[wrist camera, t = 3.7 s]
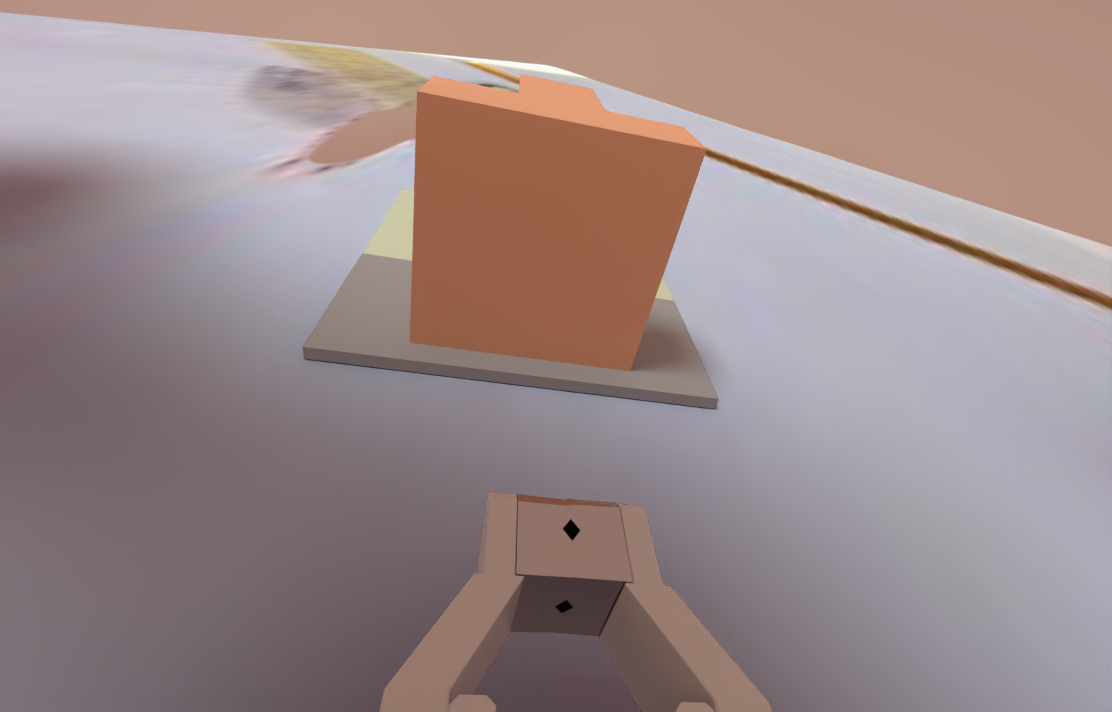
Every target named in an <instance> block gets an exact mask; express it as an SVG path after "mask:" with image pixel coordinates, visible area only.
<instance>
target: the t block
mask: <svg viewBox="0 0 1112 712" xmlns="http://www.w3.org/2000/svg"><path fill="white" fill-rule="evenodd" d="M416 114H417V115H416V146H415V180H414V214H413V247H412V281H411V315H410V343H417V344H425V345H432V346H440V347H448V348H455V349H463V350H471V351H478V352H486V353H494V354H501V355H509V356H517V357H524V358H532V359H540V360H547V361H555V362H563V363H570V364H578V365H586V366H593V367H601V368H609V369H616V370H624V371H630V370H631V367H632V364H633V361H634V358H635V355H636V352H637V349H638V347H639V344H640V341H641V338H642V335H643V332H644V329H645V326H646V323H647V320H648V318H649V315H650V312H651V309H652V306H653V303H654V300H655V297H656V294H657V292H658V289H659V286H660V283H661V280H662V277H663V274H664V271H665V268H666V265H667V263H668V260H669V257H670V254H671V251H672V248H673V245H674V242H675V239H676V236H677V234H678V231H679V228H680V225H681V222H682V219H683V216H684V213H685V210H686V207H687V205H688V202H689V199H690V196H691V193H692V190H693V187H694V184H695V181H696V179H697V176H698V173H699V170H700V167H701V164H702V161H703V158H704V155H705V152H706V150H707V149H706V148H705V147H704V146H703V145H702V144H701V143H700V142H699V141H698V140H697V139H695V138H694V137H693V136H692V135H691V134H690V133H689V132H688V131H687V130H686V129H685V128H683V127H681V126H676V125H671V124H666V123H661V122H656V121H651V120H646V119H642V118H637V117H632V116H627V115H622V114H617V113H612V112H607V111H605V109H604V108H603V106H602V104H601V103H600V101H599V99H598V98H597V96H596V94H595V93H594V91H593V89H590V88H585V87H580V86H575V85H570V84H566V83H561V82H556V81H551V80H547V79H542V78H537V77H532V76H528V75H523V74H521V77H520V85H519V92H518V93H514V92H509V91H504V90H500V89H495V88H490V87H485V86H480V85H475V84H470V83H465V82H460V81H455V80H451V79H446V78H441V77H436V76H433V77H432V78H431V79H430V80H429V81H428V82H427V83H426V84H424V85H423V86H422V87H421V88H420V89H419V90H418V91H417V112H416Z"/></svg>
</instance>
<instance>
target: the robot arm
mask: <svg viewBox="0 0 1112 712" xmlns="http://www.w3.org/2000/svg"><path fill="white" fill-rule="evenodd" d="M510 632H550V633H565V634H577V635H590V636H600V637H599V640H600V642H601V643H602V645H603V647H604V649H605V650H606V652H607V654H608V655H609V657H610V659H611V660H612V662H613V664H614V666H615V667H616V669H617V671H618V672H619V674H620V676H621V678H622V679H623V681H624V683H625V684H626V686H627V688H628V690H629V691H630V693H631V695H632V696H633V698H634V700H635V702H636V703H637V705H638V707H639V708H640V710H641V712H772V709H771V706H770V703H769V702H768V701H767V699H766V698H765V697H764V696H763V695H762V694H761V692H760V691H759V690H758V689H757V688H756V686H755V685H754V684H753V683H752V682H751V681H750V679H749V678H748V677H747V676H746V675H745V673H744V672H743V671H742V670H741V669H740V668H739V666H738V665H737V664H736V663H735V662H734V660H733V659H732V658H731V657H730V656H729V655H728V653H727V652H726V651H725V650H724V649H723V647H722V646H721V645H720V644H719V643H718V642H717V640H716V639H715V638H714V637H713V636H712V634H711V633H710V632H709V631H708V630H707V629H706V627H705V626H704V625H703V624H702V623H701V621H700V620H699V619H698V618H697V617H696V616H695V614H694V613H693V612H692V611H691V610H690V608H689V607H688V606H687V605H686V604H685V603H684V601H683V600H682V599H681V598H680V597H679V595H678V594H677V593H676V592H675V591H674V590H673V588H672V587H671V586H666V585H663V584H662V579H661V575H660V570H659V566H658V562H657V557H656V553H655V548H654V544H653V540H652V535H651V531H650V526H649V522H648V518H647V513H646V510H645V509H644V507H643V506H639V505H628V504H616V503H611V502H598V501H585V500H572V499H567V500H561V499H553V498H544V497H536V496H527V495H519V494H517V495H516V494H509V493H499V492H490V493H489V497H488V503H487V508H486V514H485V520H484V525H483V532H482V539H481V546H480V553H479V564H478V573H474V574H473V576H472V577H471V578H470V579H469V581H468V582H467V583H466V585H465V586H464V587H463V588H462V590H461V591H460V592H459V594H458V595H457V596H456V597H455V599H454V600H453V601H452V602H451V604H450V605H449V606H448V608H447V609H446V610H445V611H444V613H443V614H442V615H441V617H440V618H439V619H438V620H437V622H436V623H435V624H434V625H433V627H432V628H431V629H430V631H429V632H428V633H427V634H426V636H425V637H424V638H423V640H422V641H421V642H420V643H419V645H418V646H417V647H416V648H415V650H414V651H413V652H412V654H411V655H410V656H409V657H408V659H407V660H406V661H405V663H404V664H403V665H402V666H401V668H400V669H399V670H398V671H397V673H396V674H395V675H394V677H393V678H392V679H391V680H390V682H389V683H388V684H387V686H386V687H385V688H384V692H383V697H382V701H381V706H380V710H379V712H496V705H495V704H494V702H493V701H492V700H491V699H490V698H489V697H488V696H487V695H474V693H475V691H476V690H477V688H478V686H479V685H480V683H481V681H482V680H483V678H484V676H485V674H486V673H487V671H488V669H489V668H490V666H491V664H492V663H493V661H494V659H495V658H496V656H497V654H498V653H499V651H500V649H501V648H502V646H503V644H504V643H505V641H506V639H507V638H508V636H509V633H510Z"/></svg>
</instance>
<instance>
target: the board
mask: <svg viewBox="0 0 1112 712" xmlns="http://www.w3.org/2000/svg"><path fill="white" fill-rule="evenodd" d="M413 214H414V191H411V190H406V189H403V190H402V192H401V193H400V195H399V197H398V198H397V200H396V201H395V203H394V204H393V206H392V208H391V209H390V211H389V212H388V214H387V215H386V217H385V219H384V220H383V222H382V223H381V225H380V226H379V228H378V230H377V231H376V233H375V234H374V236H373V237H372V239H371V241H370V242H369V244H368V245H367V247H366V248H365V250H364V252H363V253H362V255H361V256H360V258H359V259H358V261H357V263H356V264H355V266H354V267H353V269H352V270H351V272H350V274H349V275H348V277H347V278H346V280H345V281H344V283H343V285H342V286H341V288H340V289H339V291H338V292H337V294H336V296H335V297H334V299H333V300H332V302H331V303H330V305H329V306H328V308H327V310H326V311H325V313H324V314H323V316H322V317H321V319H320V321H319V322H318V324H317V325H316V327H315V328H314V330H313V332H312V333H311V335H310V336H309V338H308V339H307V341H306V343H305V344H304V346H303V352H304V359H312V360H320V361H328V362H336V363H344V364H352V365H361V366H369V367H377V368H385V369H393V370H401V371H410V372H418V373H426V374H434V375H442V376H450V377H458V378H467V379H475V380H483V381H491V382H499V383H507V384H516V385H524V386H532V387H540V388H548V389H556V390H565V391H573V392H581V393H589V394H597V395H605V396H614V397H622V398H630V399H638V400H646V401H654V402H662V403H671V404H679V405H687V406H695V407H703V408H711V409H714V408H715V406H716V404H717V402H718V396H717V394H716V392H715V390H714V388H713V385H712V383H711V381H710V379H709V377H708V374H707V372H706V370H705V368H704V366H703V363H702V361H701V359H700V357H699V355H698V353H697V350H696V348H695V346H694V344H693V342H692V339H691V337H690V335H689V333H688V331H687V328H686V326H685V324H684V322H683V320H682V318H681V315H680V313H679V311H678V309H677V307H676V304H675V302H674V300H673V298H672V296H671V293H670V291H669V289H668V287H667V285H666V282H665V280H664V278H663V277H662V280H661V283H660V286H659V289H658V292H657V294H656V297H655V300H654V303H653V306H652V309H651V312H650V315H649V318H648V320H647V323H646V326H645V329H644V332H643V335H642V338H641V341H640V344H639V347H638V349H637V352H636V355H635V358H634V361H633V364H632V367H631V370H630V371H624V370H616V369H609V368H601V367H593V366H586V365H578V364H570V363H563V362H555V361H547V360H540V359H532V358H524V357H517V356H509V355H501V354H494V353H486V352H478V351H471V350H463V349H455V348H448V347H440V346H432V345H425V344H417V343H410V315H411V281H412V247H413Z"/></svg>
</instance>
